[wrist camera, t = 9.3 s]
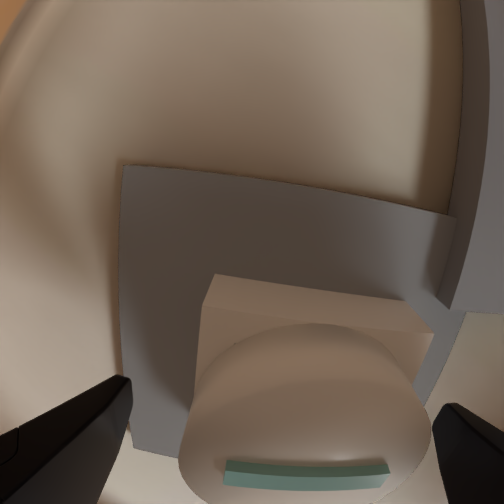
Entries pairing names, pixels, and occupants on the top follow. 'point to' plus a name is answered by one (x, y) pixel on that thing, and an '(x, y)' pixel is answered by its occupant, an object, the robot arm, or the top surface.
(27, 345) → the top surface
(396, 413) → the cream domed square block
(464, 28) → the plinth
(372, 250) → the mat
